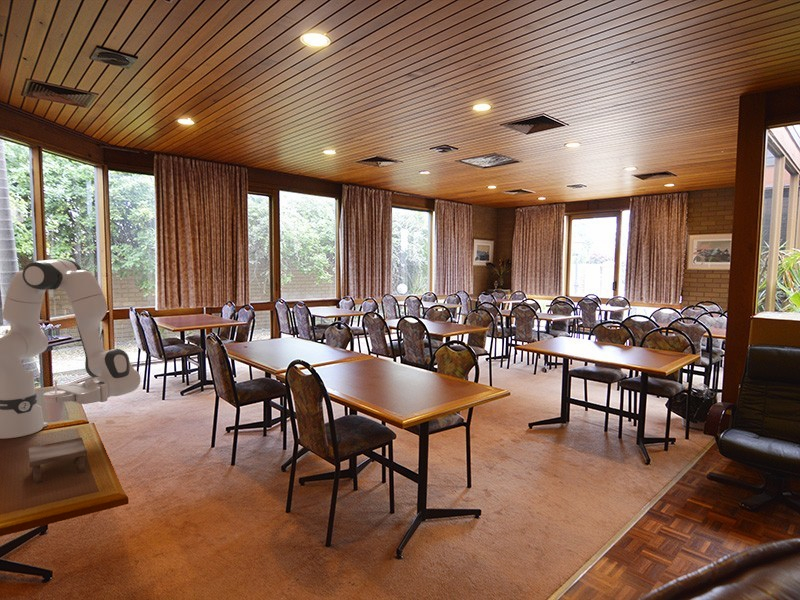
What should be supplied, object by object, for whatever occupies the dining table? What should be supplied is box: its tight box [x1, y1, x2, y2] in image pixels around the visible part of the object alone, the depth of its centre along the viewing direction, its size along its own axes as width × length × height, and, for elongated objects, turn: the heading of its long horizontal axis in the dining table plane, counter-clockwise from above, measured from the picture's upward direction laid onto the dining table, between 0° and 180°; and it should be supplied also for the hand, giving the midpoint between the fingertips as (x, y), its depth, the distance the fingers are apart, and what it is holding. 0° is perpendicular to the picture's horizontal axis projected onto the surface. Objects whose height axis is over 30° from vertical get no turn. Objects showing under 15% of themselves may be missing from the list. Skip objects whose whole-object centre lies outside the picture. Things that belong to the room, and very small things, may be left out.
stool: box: [28, 437, 88, 484], centre depth 148 cm, size 14×14×7 cm
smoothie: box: [42, 379, 66, 423], centre depth 164 cm, size 6×6×14 cm
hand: (51, 398), depth 163 cm, fingers closed on smoothie, 6 cm apart
